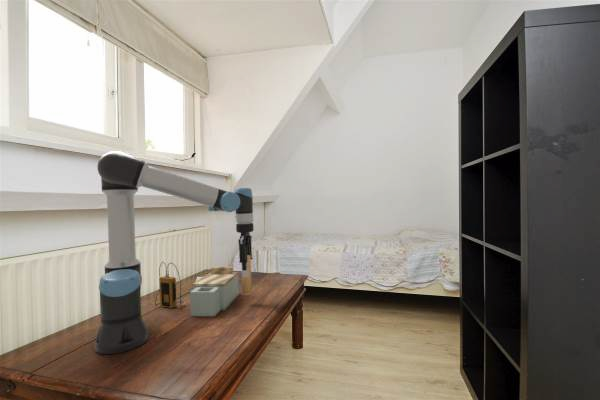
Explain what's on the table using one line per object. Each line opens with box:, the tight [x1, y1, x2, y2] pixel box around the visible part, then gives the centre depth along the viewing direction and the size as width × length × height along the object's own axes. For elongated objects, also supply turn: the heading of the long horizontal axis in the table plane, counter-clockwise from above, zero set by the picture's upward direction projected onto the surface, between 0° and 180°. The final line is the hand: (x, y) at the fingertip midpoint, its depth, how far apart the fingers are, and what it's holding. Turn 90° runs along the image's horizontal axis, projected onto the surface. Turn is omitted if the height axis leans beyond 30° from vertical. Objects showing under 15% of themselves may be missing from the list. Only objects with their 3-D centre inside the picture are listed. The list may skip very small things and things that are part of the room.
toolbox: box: [189, 274, 239, 317], centre depth 136 cm, size 14×27×10 cm, turn 175°
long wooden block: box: [241, 255, 253, 294], centre depth 134 cm, size 4×4×16 cm
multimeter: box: [154, 261, 188, 309], centre depth 138 cm, size 15×10×20 cm
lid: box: [192, 266, 239, 287], centre depth 140 cm, size 14×20×4 cm
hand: (246, 275), depth 134 cm, fingers closed on long wooden block, 4 cm apart
